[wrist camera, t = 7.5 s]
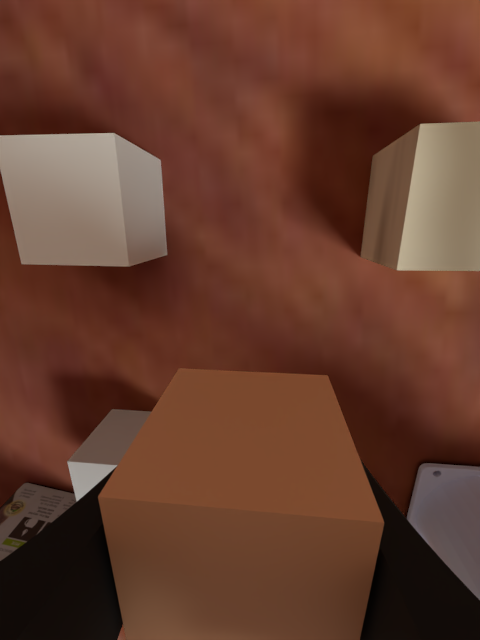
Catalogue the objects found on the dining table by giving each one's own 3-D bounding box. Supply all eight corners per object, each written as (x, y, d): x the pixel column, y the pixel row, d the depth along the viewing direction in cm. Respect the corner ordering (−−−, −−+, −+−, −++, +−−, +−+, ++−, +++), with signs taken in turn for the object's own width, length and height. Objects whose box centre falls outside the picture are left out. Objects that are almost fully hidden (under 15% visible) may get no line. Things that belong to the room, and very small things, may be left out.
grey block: (179, 412, 21) (153, 468, 16) (183, 468, 22) (160, 534, 18) (112, 408, 21) (67, 461, 16) (121, 463, 23) (82, 526, 18)
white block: (161, 160, 16) (114, 132, 11) (167, 255, 17) (129, 266, 13) (73, 161, 16) (-8, 135, 11) (87, 253, 18) (21, 264, 13)
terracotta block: (327, 375, 10) (384, 522, 5) (315, 492, 11) (348, 689, 6) (178, 368, 10) (97, 496, 5) (187, 481, 12) (130, 658, 7)
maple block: (478, 153, 14) (581, 118, 10) (455, 257, 16) (534, 271, 11) (372, 156, 15) (420, 123, 10) (360, 256, 16) (396, 270, 12)
